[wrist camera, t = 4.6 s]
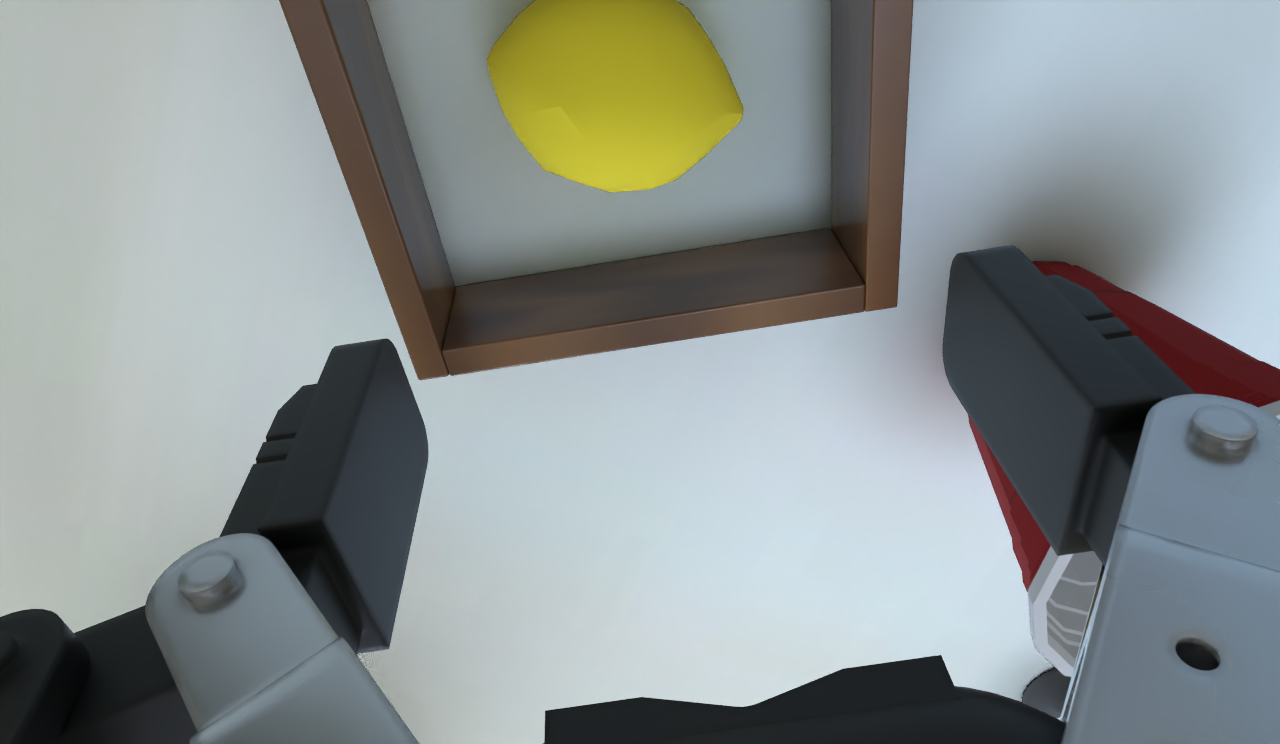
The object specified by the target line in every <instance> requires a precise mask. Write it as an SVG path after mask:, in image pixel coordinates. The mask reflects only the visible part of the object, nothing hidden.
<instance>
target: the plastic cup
mask: <svg viewBox="0 0 1280 744" xmlns="http://www.w3.org/2000/svg"><path fill="white" fill-rule="evenodd" d="M1032 263H1033V264H1034V265H1035V266H1036V267H1037V268H1038V269H1039V270H1040V271H1041V272H1042V273H1043V274H1044V275H1045V276H1047V275H1054V274H1057V275H1059V276H1061V277H1063V278H1065V279H1068V280H1070V281H1072V282H1074V283H1076V284H1078V285H1080V286H1082V287H1084V288H1086V289H1088V290H1090V291H1092V292H1093V293H1094V294H1095V295H1096V296H1097V297H1098V298H1099V299H1100V300H1101V301H1102V302H1103V303H1104V304H1105V305H1106V306H1107V307H1108V308H1109V309H1110V310H1111V311H1112V312H1113V316H1114V317H1118V318H1119V319H1120V320H1121V321H1122V322H1123V323H1124V324H1125V325H1126V326H1127V327H1128V328H1129V329H1131V330H1132V336H1135V335H1137V336H1138V337H1139V338H1140V339H1141V340H1142V341H1143V342H1144V343H1145V344H1146V345H1147V346H1148V347H1149V348H1150V349H1151V350H1152V351H1153V352H1154V353H1155V354H1156V355H1157V356H1158V357H1159V358H1160V359H1161V360H1162V361H1163V362H1164V363H1165V364H1166V365H1167V366H1168V367H1169V368H1170V369H1171V370H1172V371H1173V372H1174V373H1176V374H1177V375H1178V376H1179V377H1180V378H1181V379H1182V380H1183V381H1184V382H1185V383H1186V384H1187V385H1188V386H1189V387H1190V388H1191V389H1192V390H1193V391H1194V392H1195V393H1196V394H1207V395H1217V396H1223V397H1228V398H1232V399H1236V400H1240V401H1243V402H1246V403H1248V404H1251V405H1254V406H1256V407H1258V408H1260V409H1263V410H1265V411H1266V412H1268V413H1270V414H1272V415H1273V416H1275V417H1277V418H1278V419H1279V420H1280V369H1278V368H1276V367H1273V366H1271V365H1269V364H1267V363H1265V362H1263V361H1259V360H1257V359H1255V358H1253V357H1251V356H1250V355H1248V354H1246V353H1244V352H1242V351H1240V350H1238V349H1237V348H1235V347H1233V346H1231V345H1229V344H1227V343H1225V342H1224V341H1222V340H1220V339H1218V338H1216V337H1214V336H1212V335H1211V334H1209V333H1207V332H1205V331H1203V330H1201V329H1200V328H1198V327H1196V326H1194V325H1192V324H1190V323H1188V322H1187V321H1185V320H1183V319H1181V318H1179V317H1177V316H1175V315H1174V314H1172V313H1170V312H1168V311H1166V310H1164V309H1162V308H1161V307H1159V306H1157V305H1155V304H1153V303H1151V302H1149V301H1147V300H1145V299H1143V298H1141V297H1139V296H1137V295H1135V294H1132V293H1130V292H1128V291H1124V290H1122V289H1121V288H1119V287H1117V286H1115V285H1114V284H1112V283H1110V282H1108V281H1107V280H1105V279H1103V278H1101V277H1099V276H1097V275H1095V274H1093V273H1091V272H1089V271H1087V270H1085V269H1083V268H1081V267H1079V266H1072V265H1070V264H1068V263H1066V262H1044V261H1035V262H1032ZM968 416H969V415H968ZM969 424H970V426H971V429H972V432H973V435H974V437H975V440H976V443H977V445H978V448H979V451H980V453H981V456H982V459H983V461H984V464H985V467H986V470H987V472H988V475H989V478H990V480H991V483H992V486H993V488H994V491H995V494H996V496H997V499H998V502H999V505H1000V507H1001V510H1002V513H1003V515H1004V518H1005V521H1006V523H1007V526H1008V529H1009V531H1010V534H1011V537H1012V544H1013V550H1014V553H1015V555H1016V558H1017V560H1018V563H1019V565H1020V567H1021V570H1022V577H1023V583H1024V585H1025V588H1026V590H1027V592H1028V601H1029V618H1030V633H1031V636H1032V640H1033V643H1034V647H1035V649H1036V650H1037V651H1038V652H1039V653H1040V654H1041V655H1043V656H1044V657H1045V658H1046V659H1047V660H1048V661H1049V662H1050V663H1051V664H1052V665H1053V666H1054V667H1056V668H1057V669H1058V670H1059V671H1060V672H1061V673H1062V674H1063V675H1064V676H1069V677H1072V673H1073V669H1074V666H1075V662H1076V658H1077V654H1078V651H1079V647H1080V643H1081V640H1082V636H1083V632H1084V628H1085V625H1086V621H1087V617H1088V614H1089V610H1090V606H1091V602H1092V599H1093V595H1094V591H1095V587H1096V584H1097V580H1098V577H1099V573H1100V570H1101V567H1102V562H1101V561H1100V560H1099V558H1098V557H1097V555H1096V554H1095V552H1094V551H1089V552H1082V553H1075V554H1068V555H1061V556H1057V555H1056V553H1055V551H1054V550H1053V548H1052V547H1051V545H1050V543H1049V542H1048V540H1047V539H1046V537H1045V535H1044V534H1043V532H1042V531H1041V529H1040V528H1039V526H1038V524H1037V523H1036V521H1035V520H1034V518H1033V516H1032V515H1031V513H1030V512H1029V510H1028V508H1027V507H1026V505H1025V504H1024V502H1023V501H1022V499H1021V497H1020V496H1019V494H1018V493H1017V491H1016V489H1015V488H1014V486H1013V485H1012V483H1011V481H1010V480H1009V478H1008V477H1007V475H1006V474H1005V472H1004V470H1003V469H1002V467H1001V466H1000V464H999V462H998V461H997V459H996V458H995V456H994V454H993V453H992V451H991V450H990V448H989V447H988V445H987V443H986V442H985V440H984V439H983V437H982V435H981V434H980V432H979V431H978V429H977V427H976V426H975V424H974V423H973V421H972V420H971V418H970V416H969Z"/></svg>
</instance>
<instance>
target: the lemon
mask: <svg viewBox="0 0 1280 744" xmlns="http://www.w3.org/2000/svg"><path fill="white" fill-rule="evenodd" d="M487 64H488V69H489V73H490V77H491V80H492V83H493V86H494V89H495V92H496V95H497V98H498V101H499V104H500V107H501V109H502V112H503V113H504V115H505V117H506V118H507V120H508V122H509V123H510V125H511V127H512V128H513V130H514V132H515V133H516V135H517V137H518V138H519V140H520V141H521V142H522V144H523V145H524V146H525V147H526V148H527V150H528V151H529V152H530V153H531V155H532V156H533V157H534V158H535V159H536V161H537V162H538V163H539V164H540V166H541V167H542V168H543V169H544V170H545V171H548V172H551V173H554V174H556V175H559V176H562V177H565V178H567V179H570V180H573V181H576V182H578V183H581V184H585V185H588V186H591V187H595V188H598V189H601V190H604V191H608V192H623V191H636V190H648V189H652V188H655V187H658V186H661V185H664V184H666V183H669V182H672V181H675V180H677V179H678V178H679V177H680V176H681V175H683V174H684V173H685V172H686V171H687V170H689V169H690V168H691V167H692V166H693V165H695V164H696V163H697V162H698V161H699V160H701V159H702V158H703V157H704V156H705V155H706V154H707V153H708V152H709V151H710V150H712V149H713V148H714V147H715V146H716V145H717V144H718V143H719V142H720V141H721V140H722V139H723V138H724V137H725V136H726V135H727V134H728V133H729V132H730V131H731V130H732V129H733V128H734V127H735V126H736V125H737V124H738V123H739V122H740V120H741V118H742V115H743V105H742V103H741V101H740V98H739V96H738V94H737V92H736V89H735V87H734V85H733V82H732V80H731V78H730V75H729V73H728V71H727V68H726V66H725V64H724V63H723V61H722V59H721V58H720V56H719V54H718V52H717V51H716V49H715V47H714V46H713V44H712V42H711V41H710V39H709V37H708V35H707V34H706V33H705V31H704V30H703V28H702V27H701V26H700V24H699V23H698V21H697V20H696V18H695V17H694V16H693V14H692V13H691V11H690V10H689V9H688V8H687V7H685V6H684V5H682V4H680V3H679V2H677V1H676V0H535V1H534V2H533V3H532V4H531V5H529V6H528V7H527V8H526V9H525V10H524V11H522V12H521V13H520V14H519V15H518V16H517V17H516V18H515V19H514V21H513V22H512V23H511V24H510V26H509V27H508V28H507V29H506V30H505V32H504V33H503V34H502V35H501V37H500V38H499V39H498V40H497V42H496V43H495V44H494V46H493V48H492V50H491V51H490V53H489V55H488V57H487Z"/></svg>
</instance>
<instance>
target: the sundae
mask: <svg viewBox="0 0 1280 744" xmlns="http://www.w3.org/2000/svg"><path fill="white" fill-rule="evenodd" d="M1070 681H1071V677H1069V676H1064V675H1063V674H1062V673H1061V672H1060V671H1059V670H1058V669H1057V668H1055V669H1053V670H1050V671H1048V672H1046V673H1044V674H1043V675H1041V676H1039V677H1038V678H1037V679H1035V680H1034V681H1033V682H1032V683H1031V684H1030V685H1029V686H1028V687H1027V689H1026V690H1025V692H1024V694H1023V697H1022V703H1024V704H1027V705H1029V706H1031V707H1034V708H1036V709H1038V710H1041V711H1043V712H1045V713H1047V714H1049V715H1051V716H1053V717H1054V718H1060V717H1061V713H1062V710H1063V706H1064V702H1065V699H1066V695H1067V692H1068V688H1069V684H1070Z"/></svg>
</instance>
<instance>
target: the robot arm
mask: <svg viewBox="0 0 1280 744" xmlns="http://www.w3.org/2000/svg"><path fill="white" fill-rule="evenodd" d="M943 361H944V367H945V372H946V375H947V378H948V381H949V383H950V386H951V387H952V389H953V391H954V393H955V394H956V396H957V397H958V399H959V400H960V402H961V404H962V405H963V407H964V408H965V410H966V412H967V413H968V415H969V416H970V418H971V420H972V421H973V423H974V424H975V426H976V427H977V429H978V431H979V432H980V434H981V435H982V437H983V439H984V440H985V442H986V443H987V445H988V447H989V448H990V450H991V451H992V453H993V454H994V456H995V458H996V459H997V461H998V462H999V464H1000V466H1001V467H1002V469H1003V470H1004V472H1005V474H1006V475H1007V477H1008V478H1009V480H1010V481H1011V483H1012V485H1013V486H1014V488H1015V489H1016V491H1017V493H1018V494H1019V496H1020V497H1021V499H1022V501H1023V502H1024V504H1025V505H1026V507H1027V508H1028V510H1029V512H1030V513H1031V515H1032V516H1033V518H1034V520H1035V521H1036V523H1037V524H1038V526H1039V528H1040V529H1041V531H1042V532H1043V534H1044V535H1045V537H1046V539H1047V540H1048V542H1049V543H1050V545H1051V547H1052V548H1053V550H1054V551H1055V553H1056V555H1057V556H1061V555H1068V554H1075V553H1082V552H1089V551H1094V552H1095V554H1096V555H1097V557H1098V558H1099V560H1100V561H1101V562H1102V567H1101V570H1100V573H1099V577H1098V580H1097V584H1096V587H1095V591H1094V595H1093V599H1092V602H1091V606H1090V610H1089V614H1088V617H1087V621H1086V625H1085V628H1084V632H1083V636H1082V640H1081V643H1080V647H1079V651H1078V654H1077V658H1076V662H1075V666H1074V669H1073V673H1072V677H1071V681H1070V684H1069V688H1068V692H1067V695H1066V699H1065V702H1064V706H1063V710H1062V713H1061V717H1060V720H1058V719H1056V718H1054V717H1053V716H1051V715H1049V714H1047V713H1045V712H1043V711H1041V710H1038V709H1036V708H1034V707H1031V706H1029V705H1027V704H1024V703H1022V702H1020V701H1017V700H1013V699H1010V698H1007V697H1004V696H1001V695H998V694H995V693H991V692H986V691H981V690H976V689H972V688H966V687H957V686H954V685H953V682H952V680H951V678H950V675H949V673H948V671H947V668H946V666H945V663H944V661H943V659H942V656H941V655H939V656H931V657H924V658H917V659H910V660H903V661H896V662H889V663H882V664H875V665H868V666H860V667H853V668H846V669H842V670H839V671H837V672H834V673H832V674H829V675H827V676H824V677H822V678H819V679H817V680H815V681H812V682H810V683H807V684H805V685H802V686H800V687H797V688H795V689H792V690H790V691H787V692H785V693H783V694H780V695H778V696H775V697H773V698H770V699H768V700H765V701H763V702H760V703H758V704H755V705H752V706H746V707H732V706H723V705H713V704H703V703H693V702H683V701H674V700H664V699H654V698H644V697H640V698H633V699H626V700H619V701H612V702H605V703H597V704H590V705H583V706H576V707H569V708H562V709H555V710H548V711H545V743H543V744H1280V420H1279V419H1278V418H1277V417H1275V416H1273V415H1272V414H1270V413H1268V412H1266V411H1265V410H1263V409H1260V408H1258V407H1256V406H1254V405H1251V404H1248V403H1246V402H1243V401H1240V400H1236V399H1232V398H1228V397H1223V396H1217V395H1207V394H1196V393H1195V392H1194V391H1193V390H1192V389H1191V388H1190V387H1189V386H1188V385H1187V384H1186V383H1185V382H1184V381H1183V380H1182V379H1181V378H1180V377H1179V376H1178V375H1177V374H1176V373H1174V372H1173V371H1172V370H1171V369H1170V368H1169V367H1168V366H1167V365H1166V364H1165V363H1164V362H1163V361H1162V360H1161V359H1160V358H1159V357H1158V356H1157V355H1156V354H1155V353H1154V352H1153V351H1152V350H1151V349H1150V348H1149V347H1148V346H1147V345H1146V344H1145V343H1144V342H1143V341H1142V340H1141V339H1140V338H1139V337H1138V336H1137V335H1135V336H1132V330H1131V329H1129V328H1128V327H1127V326H1126V325H1125V324H1124V323H1123V322H1122V321H1121V320H1120V319H1119V318H1118V317H1114V316H1113V312H1112V311H1111V310H1110V309H1109V308H1108V307H1107V306H1106V305H1105V304H1104V303H1103V302H1102V301H1101V300H1100V299H1099V298H1098V297H1097V296H1096V295H1095V294H1094V293H1093V292H1092V291H1090V290H1088V289H1086V288H1084V287H1082V286H1080V285H1078V284H1076V283H1074V282H1072V281H1070V280H1068V279H1065V278H1063V277H1061V276H1059V275H1057V274H1054V275H1047V276H1045V275H1044V274H1043V273H1042V272H1041V271H1040V270H1039V269H1038V268H1037V267H1036V266H1035V265H1034V264H1033V263H1032V262H1031V261H1030V260H1029V259H1028V258H1027V257H1026V256H1025V255H1024V254H1023V253H1022V252H1021V250H1020V249H1018V248H1017V247H1015V246H1012V245H1010V246H1004V247H997V248H990V249H984V250H977V251H971V252H964V253H959V254H957V255H956V256H955V257H954V259H953V261H952V265H951V270H950V279H949V288H948V298H947V308H946V318H945V327H944V337H943ZM266 440H267V441H266V442H263V444H262V446H261V449H260V451H259V453H258V455H257V457H256V462H257V463H256V464H253V466H252V468H251V470H250V472H249V474H248V477H247V479H246V481H245V483H244V485H243V487H242V490H241V492H240V494H239V496H238V498H237V500H236V502H235V505H234V507H233V509H232V511H231V513H230V515H229V518H228V520H227V522H226V524H225V526H224V528H223V531H222V533H221V535H220V537H219V538H216V539H213V540H211V541H208V542H206V543H203V544H201V545H199V546H198V547H196V548H194V549H192V550H191V551H189V552H187V553H186V554H184V555H183V556H181V557H180V558H179V559H178V560H176V561H175V562H174V563H173V564H172V565H170V566H169V567H168V568H167V569H166V570H165V571H164V572H163V574H162V575H161V576H160V577H159V578H158V579H157V581H156V582H155V584H154V585H153V587H152V589H151V591H150V593H149V595H148V597H147V601H146V605H145V606H142V607H140V608H138V609H135V610H133V611H130V612H127V613H125V614H122V615H120V616H117V617H114V618H112V619H109V620H107V621H104V622H102V623H99V624H96V625H94V626H91V627H89V628H86V629H84V630H81V631H78V632H76V633H73V632H72V631H71V630H70V629H69V627H68V626H67V625H66V624H65V623H64V622H63V621H62V619H61V618H60V617H59V616H58V615H57V614H55V613H53V612H51V611H48V610H44V609H30V610H22V611H18V612H14V613H11V614H8V615H5V616H2V617H0V744H419V743H418V741H417V740H416V738H415V737H414V736H413V734H412V733H411V731H410V730H409V729H408V727H407V726H406V724H405V723H404V722H403V720H402V719H401V717H400V716H399V715H398V713H397V712H396V710H395V709H394V707H393V706H392V705H391V703H390V702H389V700H388V699H387V698H386V696H385V695H384V693H383V692H382V691H381V689H380V688H379V686H378V685H377V684H376V682H375V681H374V679H373V678H372V676H371V675H370V674H369V672H368V671H367V669H366V668H365V667H364V665H363V664H362V662H361V661H360V660H359V658H358V657H357V653H364V652H371V651H378V650H385V649H389V646H390V642H391V637H392V632H393V627H394V622H395V618H396V613H397V608H398V603H399V598H400V594H401V589H402V584H403V579H404V574H405V570H406V565H407V560H408V555H409V550H410V546H411V541H412V536H413V531H414V526H415V522H416V517H417V512H418V507H419V502H420V498H421V493H422V488H423V483H424V478H425V474H426V469H427V463H428V441H427V434H426V429H425V425H424V422H423V419H422V416H421V414H420V411H419V408H418V406H417V403H416V400H415V398H414V395H413V392H412V390H411V387H410V384H409V382H408V379H407V376H406V374H405V371H404V368H403V366H402V363H401V360H400V358H399V355H398V353H397V350H396V348H395V346H394V345H393V343H392V342H391V341H390V340H389V339H379V340H373V341H366V342H360V343H353V344H346V345H340V346H335V347H334V348H333V349H332V350H331V352H330V355H329V357H328V359H327V362H326V364H325V366H324V369H323V371H322V374H321V376H320V378H319V381H318V383H317V384H312V385H306V386H302V387H301V388H300V389H299V390H298V391H297V392H296V393H295V394H294V395H293V396H292V397H291V398H290V399H289V400H288V401H287V402H286V403H285V404H284V405H283V406H282V407H281V408H280V409H279V410H278V412H277V414H276V416H275V418H274V420H273V423H272V425H271V427H270V429H269V431H268V433H267V436H266Z"/></svg>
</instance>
